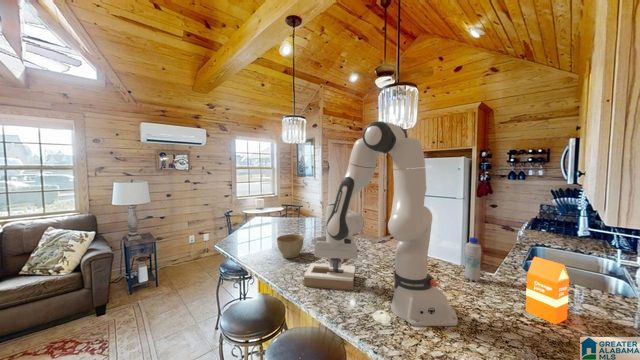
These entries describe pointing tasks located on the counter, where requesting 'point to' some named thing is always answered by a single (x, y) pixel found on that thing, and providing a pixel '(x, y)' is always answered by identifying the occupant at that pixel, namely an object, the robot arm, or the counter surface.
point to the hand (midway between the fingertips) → (335, 266)
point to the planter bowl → (290, 245)
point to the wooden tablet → (339, 259)
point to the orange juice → (547, 290)
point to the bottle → (472, 260)
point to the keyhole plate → (330, 277)
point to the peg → (335, 265)
